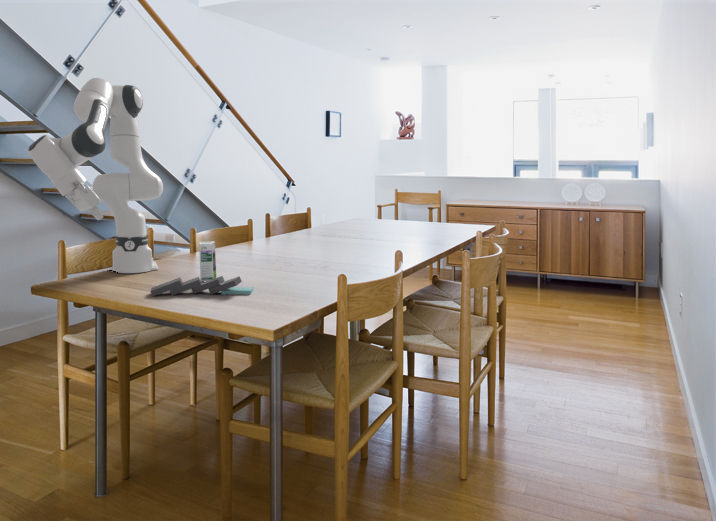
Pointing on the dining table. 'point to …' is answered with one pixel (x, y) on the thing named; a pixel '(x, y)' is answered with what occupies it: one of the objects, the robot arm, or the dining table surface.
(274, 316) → the dining table surface
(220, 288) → the domino
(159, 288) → the domino
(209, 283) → the domino
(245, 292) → the domino
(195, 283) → the domino
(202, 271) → the syrup box
